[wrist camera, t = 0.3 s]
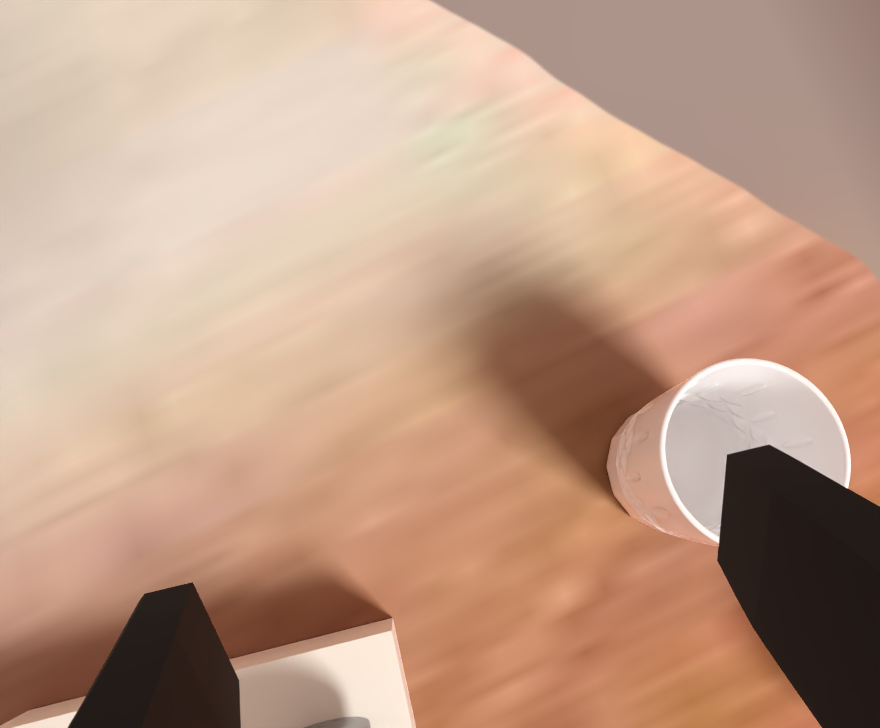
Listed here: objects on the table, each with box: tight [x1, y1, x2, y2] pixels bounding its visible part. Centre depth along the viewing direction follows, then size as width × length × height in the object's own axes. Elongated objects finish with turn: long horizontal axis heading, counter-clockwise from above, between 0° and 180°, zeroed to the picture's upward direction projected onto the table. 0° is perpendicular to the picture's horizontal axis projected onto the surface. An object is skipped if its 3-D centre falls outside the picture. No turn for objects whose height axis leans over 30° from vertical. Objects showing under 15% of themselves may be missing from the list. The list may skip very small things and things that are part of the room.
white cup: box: [606, 358, 851, 547], centre depth 34 cm, size 8×8×10 cm
